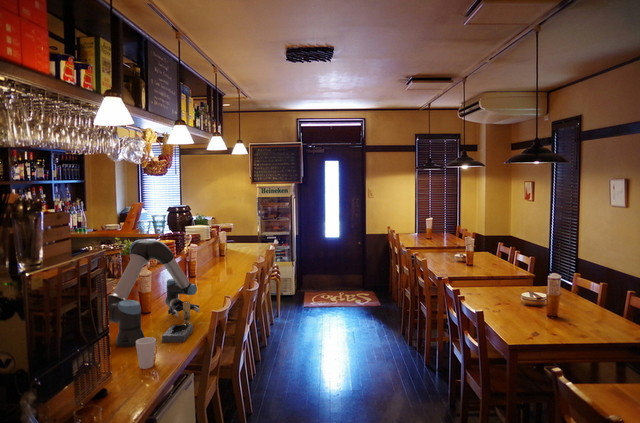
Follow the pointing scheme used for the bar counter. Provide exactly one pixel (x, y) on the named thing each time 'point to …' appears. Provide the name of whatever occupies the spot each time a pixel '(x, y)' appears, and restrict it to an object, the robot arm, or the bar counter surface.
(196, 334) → the bar counter surface
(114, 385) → the bar counter surface
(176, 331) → the keyhole plate
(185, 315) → the brass post
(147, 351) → the foam cup
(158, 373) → the bar counter surface
